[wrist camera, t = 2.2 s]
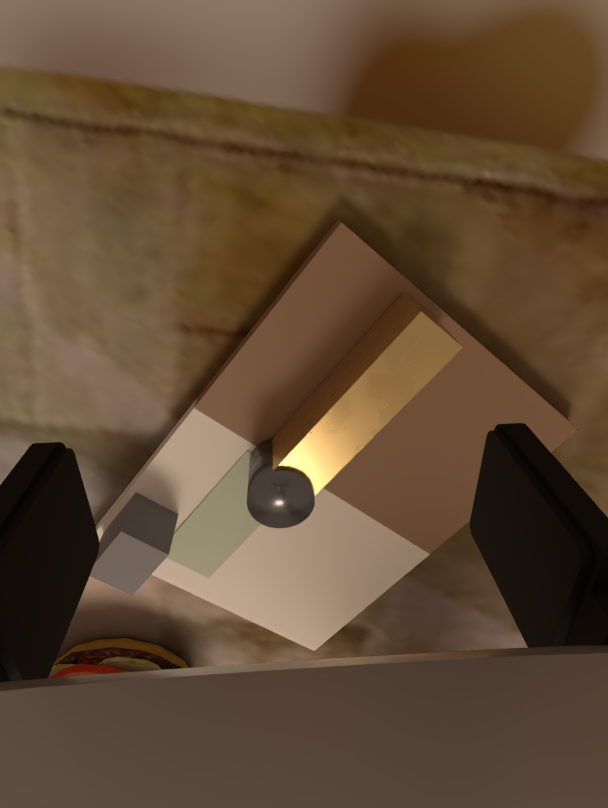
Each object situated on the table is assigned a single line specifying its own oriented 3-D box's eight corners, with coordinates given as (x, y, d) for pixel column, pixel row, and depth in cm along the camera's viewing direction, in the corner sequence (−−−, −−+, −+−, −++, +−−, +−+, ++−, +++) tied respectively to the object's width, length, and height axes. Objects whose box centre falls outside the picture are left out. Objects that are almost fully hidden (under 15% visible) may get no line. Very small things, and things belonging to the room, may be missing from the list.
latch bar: (285, 496, 31) (286, 538, 27) (237, 468, 29) (233, 508, 26) (447, 328, 26) (472, 355, 23) (398, 286, 25) (417, 308, 22)
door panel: (313, 637, 39) (317, 694, 35) (92, 530, 33) (67, 586, 29) (568, 419, 31) (612, 462, 27) (338, 218, 24) (351, 235, 20)
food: (33, 723, 43) (-14, 837, 36) (41, 615, 37) (-13, 729, 30) (192, 738, 45) (178, 849, 38) (225, 640, 39) (215, 751, 32)
